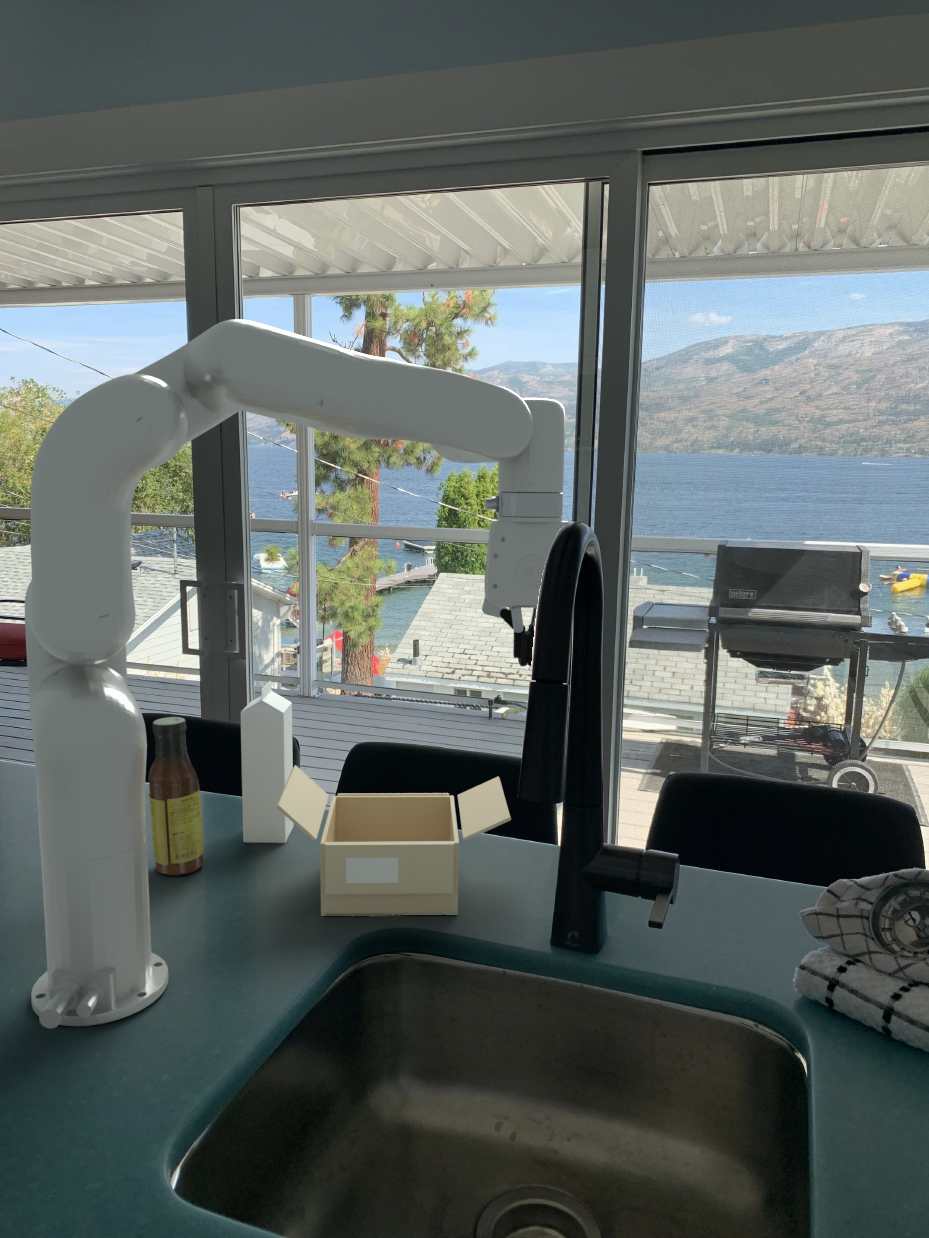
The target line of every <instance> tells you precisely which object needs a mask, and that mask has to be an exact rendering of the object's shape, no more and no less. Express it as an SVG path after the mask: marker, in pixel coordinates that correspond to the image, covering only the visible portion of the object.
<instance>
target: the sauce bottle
mask: <svg viewBox="0 0 929 1238" xmlns="http://www.w3.org/2000/svg"><path fill="white" fill-rule="evenodd" d="M186 721H187V720H186V719H185V718H183V717H179V716H169V717H168V716H167V717H162V718H158V719H155V720H154V721H153V722H152V732H153V734H154V741H155V743H154V744H155V751H154V752H155V758H154V761H153V763H152V764H151V767H150V769H149V773H148V783H149V784H148V786H149V794H148V797H149V808H150V811H149V813H150V823H151V835H152V836H151V837H152V838H151V839H152V848H153V849H152V850H153V860H154V861H155V867H156V870H157V872H158V873H159V874H162V875H163V874H164V875H167V876H171V877H172V876H183V875H187V874H191V873H193V872H195V871H197V870H199V869H200V868H201V867H202V866H203V864H204V851H205V847H204V833H203V821H202V819H203V818H202V804H201V793H200V791H201V790H200V784H199V783H200V781H199V778H198V775H197V773H196V770H195V768H194V766H193V765H192V763H191V759H190V757H189V754H188V747H187V738H186V731H187V723H186Z"/></svg>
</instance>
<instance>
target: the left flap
mask: <svg viewBox="0 0 929 1238" xmlns="http://www.w3.org/2000/svg"><path fill="white" fill-rule="evenodd" d="M329 796H330V795H329V794H328V793H327V792H326V791H325V790H324V789H323V788H322V787H320V786H319V785H318V784H317V783H316V782H315V781H314V780H313V779H312V778H311V777H309V776H308V775H307V773H305V772H304V771H303V770H302V769H301V768H300V767H299V766H297V765H296V764H294V766H293V769H292V771H291V773H290V776H289V778H288V780H287V783H286V785H285V787H284V790H283V792H282V794H281V796H280V799H279V801H278V803H277V806H276V808H277V809H278V810H280V811H281V812H282V813H283V814H284V815H285V816H286V817H287V818H288V819H290V820H291V821H292V822H293V823H294V825H295V826H296V827H297V828H298V829H299V830H301V831H302V833H304V834H305V835H307V837H308V838H310V839H311V840H312V841H313V842H315V841H317V839H318V835H319V831H320V828H321V824H322V821H323V817H324V814H325V810H326V807H327V803H328V799H329Z"/></svg>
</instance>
